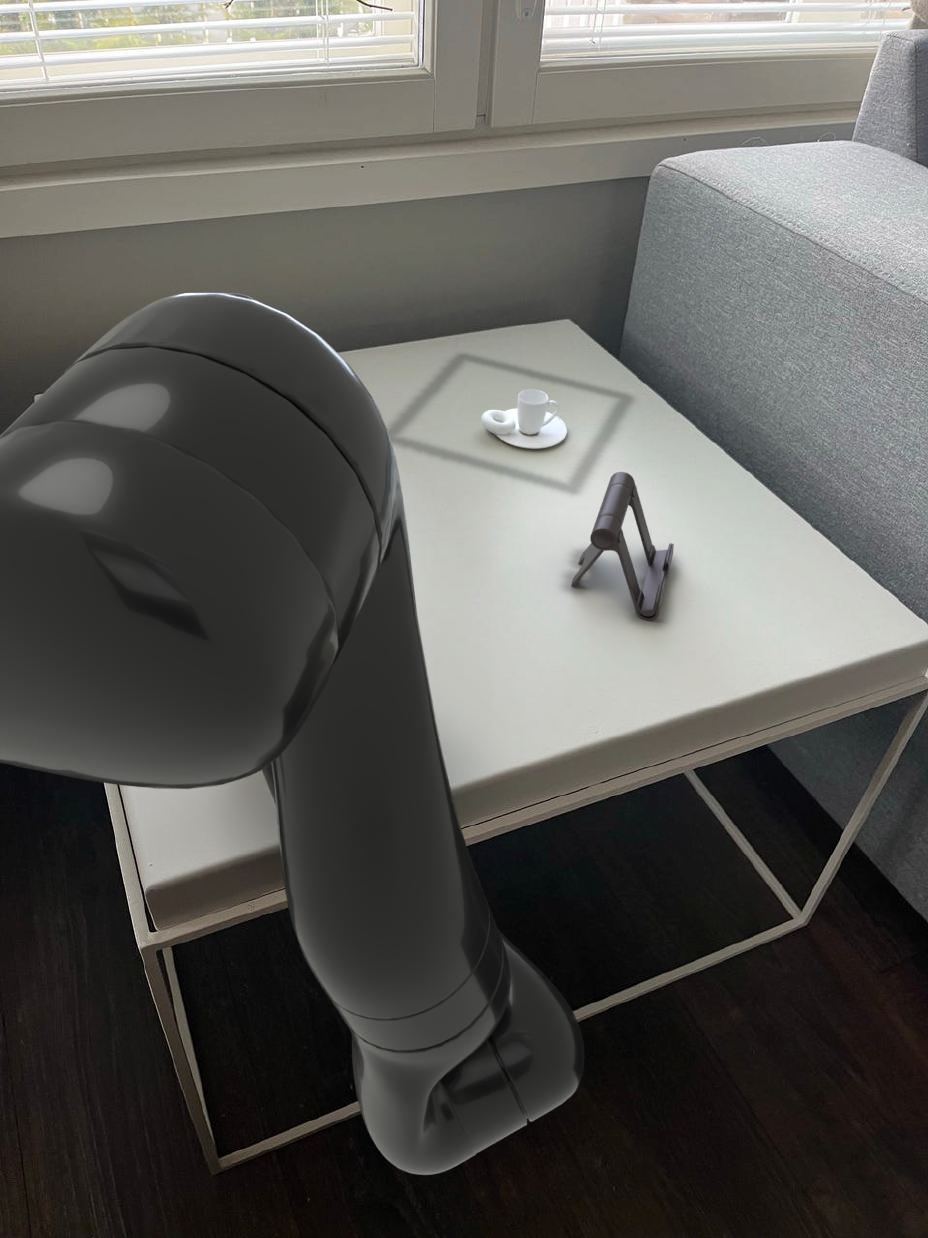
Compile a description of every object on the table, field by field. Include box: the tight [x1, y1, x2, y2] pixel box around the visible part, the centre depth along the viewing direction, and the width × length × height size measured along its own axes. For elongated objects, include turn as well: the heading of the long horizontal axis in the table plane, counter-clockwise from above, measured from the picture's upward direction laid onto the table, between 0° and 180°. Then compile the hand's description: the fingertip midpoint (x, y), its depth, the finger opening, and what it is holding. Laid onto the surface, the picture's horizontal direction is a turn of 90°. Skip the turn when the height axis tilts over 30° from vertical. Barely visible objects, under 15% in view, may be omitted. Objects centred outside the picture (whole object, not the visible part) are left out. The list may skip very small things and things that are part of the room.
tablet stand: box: [570, 471, 675, 622], centre depth 82 cm, size 9×8×8 cm
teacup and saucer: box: [480, 388, 568, 450], centre depth 101 cm, size 9×8×4 cm
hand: (262, 617), depth 66 cm, fingers open, 8 cm apart
